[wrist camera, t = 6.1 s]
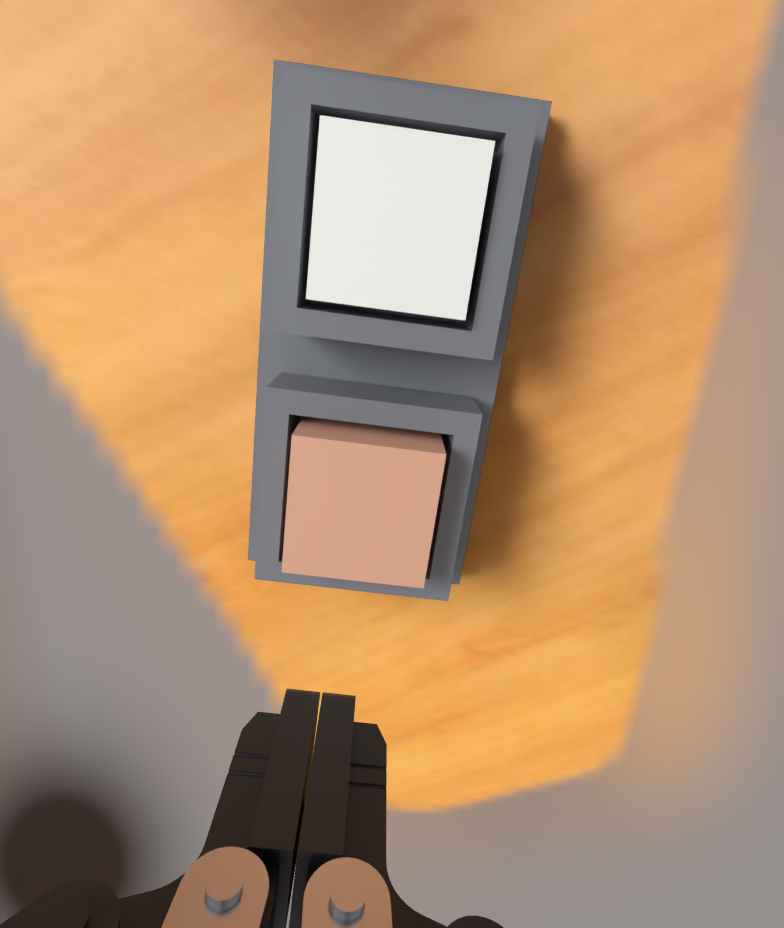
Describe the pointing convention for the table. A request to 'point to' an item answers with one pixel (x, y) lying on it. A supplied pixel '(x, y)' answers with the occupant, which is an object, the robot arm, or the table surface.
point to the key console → (384, 331)
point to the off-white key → (396, 217)
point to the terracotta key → (362, 501)
